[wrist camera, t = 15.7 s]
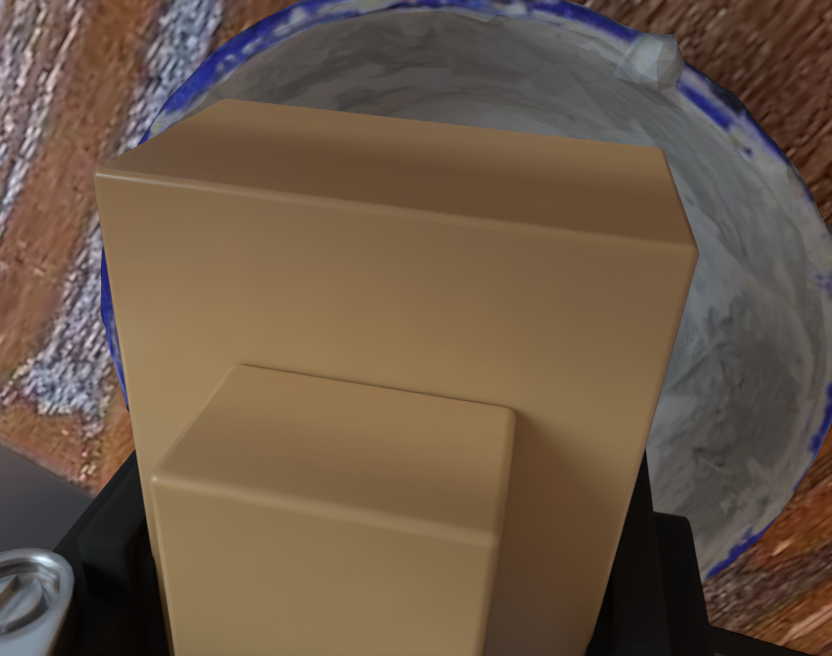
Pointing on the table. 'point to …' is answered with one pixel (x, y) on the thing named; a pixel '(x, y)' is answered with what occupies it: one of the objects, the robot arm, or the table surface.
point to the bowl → (617, 123)
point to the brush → (388, 375)
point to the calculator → (744, 646)
